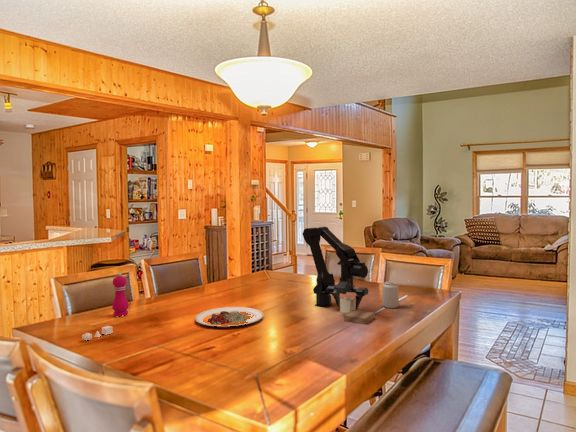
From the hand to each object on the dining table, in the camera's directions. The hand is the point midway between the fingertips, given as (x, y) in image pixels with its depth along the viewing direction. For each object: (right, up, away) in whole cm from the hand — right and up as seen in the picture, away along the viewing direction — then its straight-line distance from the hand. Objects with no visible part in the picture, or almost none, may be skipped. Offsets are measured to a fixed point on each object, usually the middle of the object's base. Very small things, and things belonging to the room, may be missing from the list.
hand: (347, 308), depth 210 cm
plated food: (-54, -3, -9) cm, 55 cm away
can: (+22, -1, +7) cm, 23 cm away
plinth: (+3, -3, -14) cm, 14 cm away
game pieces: (-103, -6, -32) cm, 108 cm away
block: (0, -2, 0) cm, 2 cm away
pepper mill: (-105, -4, 0) cm, 106 cm away
